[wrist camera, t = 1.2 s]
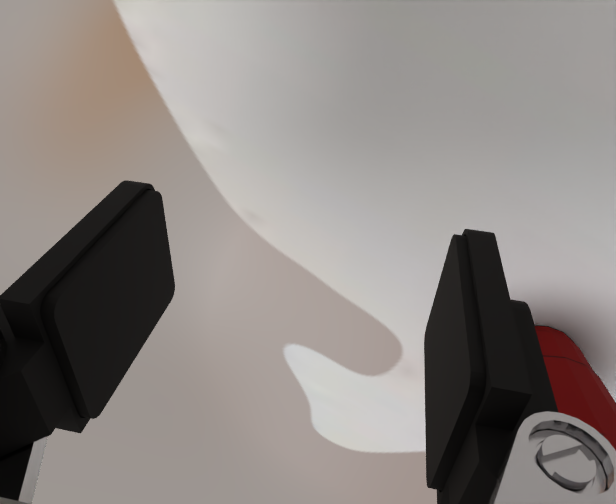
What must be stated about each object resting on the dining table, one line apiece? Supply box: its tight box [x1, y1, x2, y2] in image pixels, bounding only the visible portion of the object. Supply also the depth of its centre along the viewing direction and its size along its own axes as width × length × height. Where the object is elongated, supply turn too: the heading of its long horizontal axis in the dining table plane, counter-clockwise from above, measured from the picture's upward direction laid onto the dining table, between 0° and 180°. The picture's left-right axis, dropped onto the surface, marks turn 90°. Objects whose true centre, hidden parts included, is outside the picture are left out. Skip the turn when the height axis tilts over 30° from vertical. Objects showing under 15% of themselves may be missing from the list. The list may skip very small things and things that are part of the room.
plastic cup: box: [535, 326, 616, 450], centre depth 29 cm, size 11×11×12 cm
